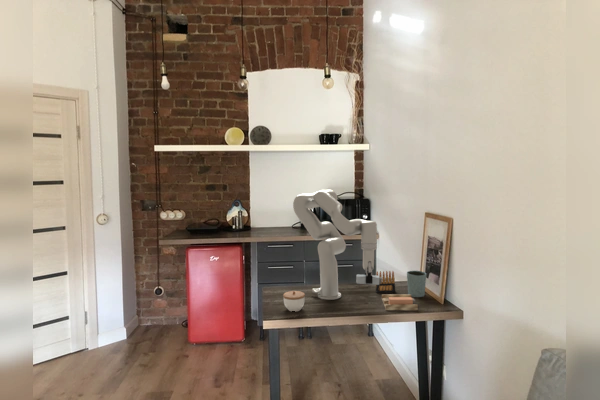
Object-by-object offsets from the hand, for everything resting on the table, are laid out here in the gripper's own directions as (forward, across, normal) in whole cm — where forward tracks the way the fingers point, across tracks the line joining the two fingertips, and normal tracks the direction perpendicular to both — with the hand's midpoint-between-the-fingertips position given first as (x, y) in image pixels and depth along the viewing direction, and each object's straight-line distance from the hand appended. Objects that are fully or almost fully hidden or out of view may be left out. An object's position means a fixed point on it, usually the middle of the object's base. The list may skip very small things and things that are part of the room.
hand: (368, 281), depth 187 cm
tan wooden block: (+11, +2, +15) cm, 19 cm away
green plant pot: (+12, -18, +27) cm, 35 cm away
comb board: (+12, -2, +15) cm, 19 cm away
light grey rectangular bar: (+1, 0, -1) cm, 1 cm away
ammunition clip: (+13, -22, +11) cm, 28 cm away
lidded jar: (+13, +6, -37) cm, 39 cm away
